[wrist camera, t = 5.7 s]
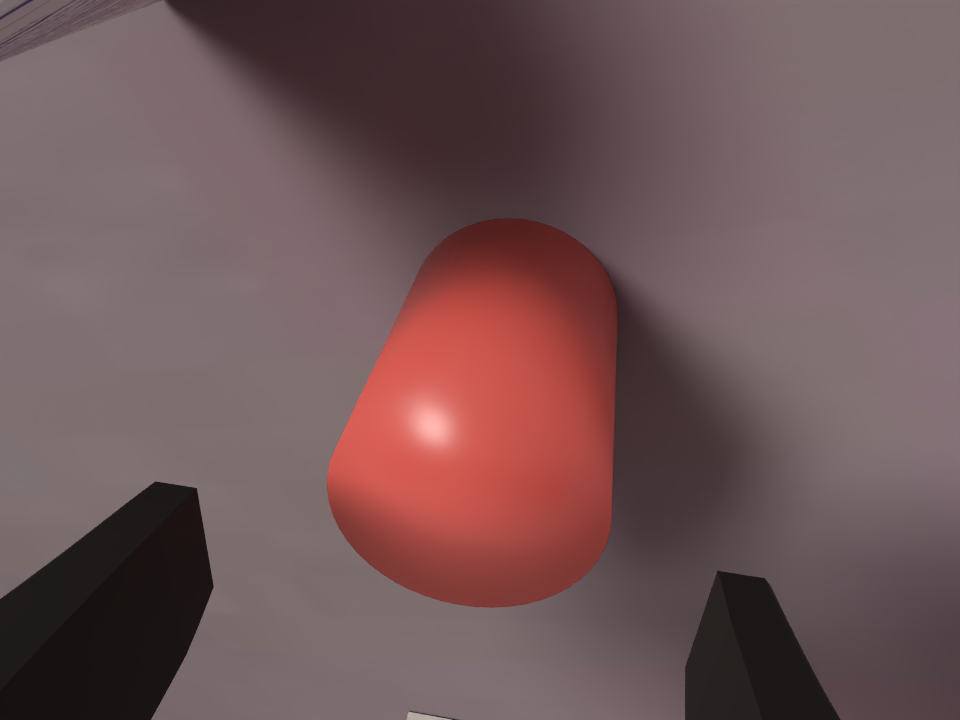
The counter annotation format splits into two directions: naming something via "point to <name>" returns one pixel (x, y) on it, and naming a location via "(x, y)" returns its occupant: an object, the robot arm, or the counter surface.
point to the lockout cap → (487, 422)
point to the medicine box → (54, 20)
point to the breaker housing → (422, 717)
